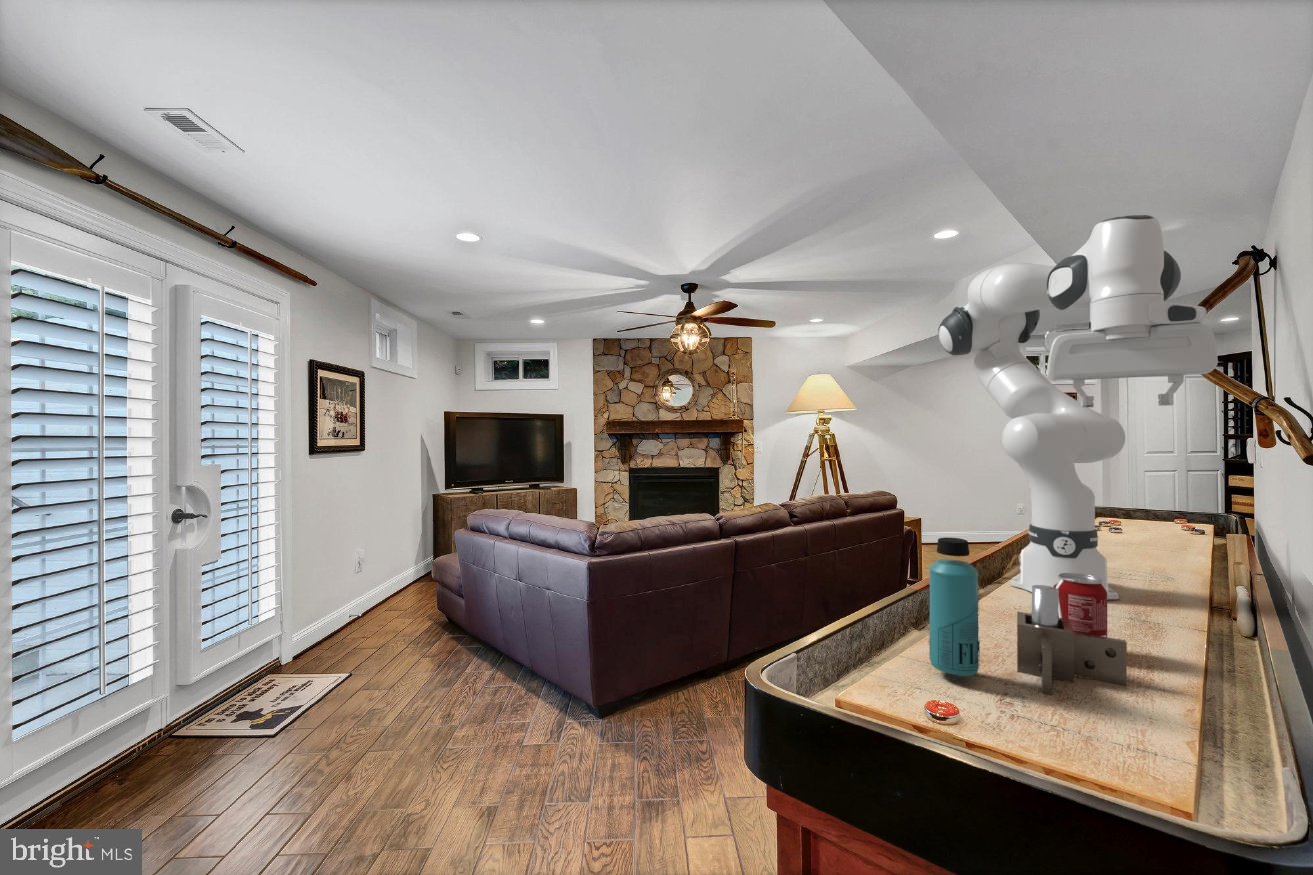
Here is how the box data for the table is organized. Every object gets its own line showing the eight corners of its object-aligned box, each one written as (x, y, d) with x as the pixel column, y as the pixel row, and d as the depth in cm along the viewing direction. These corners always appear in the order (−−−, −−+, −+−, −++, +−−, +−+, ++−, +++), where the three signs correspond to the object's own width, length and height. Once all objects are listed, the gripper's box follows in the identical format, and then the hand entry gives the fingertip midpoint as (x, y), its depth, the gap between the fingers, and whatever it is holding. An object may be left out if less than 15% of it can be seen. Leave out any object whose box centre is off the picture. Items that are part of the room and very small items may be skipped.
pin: (1031, 669, 80) (1032, 589, 80) (1030, 661, 83) (1031, 583, 83) (1058, 674, 78) (1059, 592, 78) (1056, 666, 81) (1057, 587, 81)
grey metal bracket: (1017, 655, 85) (1017, 611, 85) (1122, 675, 78) (1122, 627, 78) (1017, 687, 75) (1017, 637, 74) (1138, 713, 68) (1138, 657, 68)
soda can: (1117, 662, 82) (1117, 584, 82) (1067, 659, 84) (1067, 582, 83) (1091, 645, 89) (1091, 572, 89) (1045, 642, 90) (1045, 571, 90)
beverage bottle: (958, 690, 74) (958, 545, 74) (917, 671, 80) (917, 536, 80) (990, 681, 77) (990, 540, 76) (948, 663, 83) (948, 532, 82)
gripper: (1045, 323, 89) (1045, 407, 89) (1221, 306, 77) (1221, 403, 77) (1043, 329, 94) (1043, 409, 94) (1208, 314, 83) (1208, 405, 83)
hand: (1125, 406), depth 86 cm, fingers open, 8 cm apart
